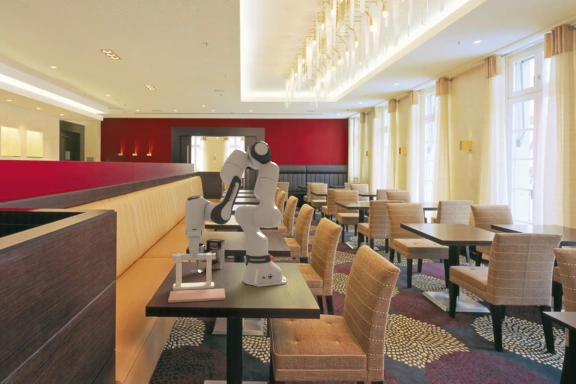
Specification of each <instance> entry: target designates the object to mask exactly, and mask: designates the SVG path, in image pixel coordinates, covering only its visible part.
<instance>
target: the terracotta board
mask: <svg viewBox="0 0 576 384" xmlns="http://www.w3.org/2000/svg"><path fill="white" fill-rule="evenodd" d="M226 299H227V298H226V291H225V288H223V287H222V288H208V289H186V290H170V293H169V296H168V299H167V302H168V303H169V304H170V303H183V302H186V303H189V302H203V301H204V302H205V301H206V302H207V301H224V300H226Z"/></svg>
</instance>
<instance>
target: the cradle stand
mask: <svg viewBox="0 0 576 384" xmlns="http://www.w3.org/2000/svg"><path fill="white" fill-rule="evenodd" d="M177 254H183V253H177ZM182 262H183V260H181V255H177V256H176V260H175V283H173V284H172V291H179V290H201V289H215V282H214V281H212V255H207V264H206V263H205V268H206V270H205V272H206V273H205V274H206V277H205V280H206V281H205V282H204V281H203V282H201V281H200V282H199V281H198V282H182V281H183V280H182V277H183V276H182V269H183V268H182V266H183V265H182Z"/></svg>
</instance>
